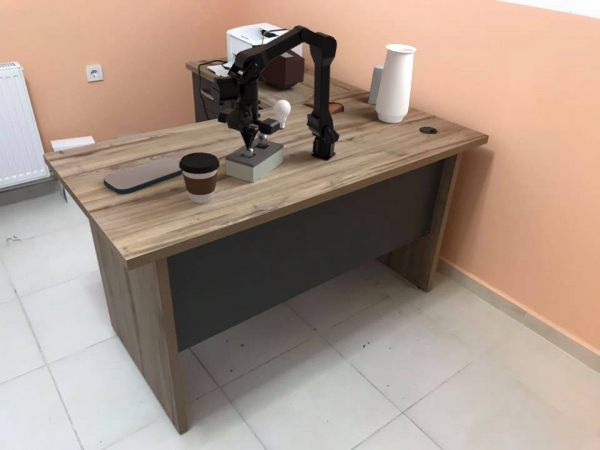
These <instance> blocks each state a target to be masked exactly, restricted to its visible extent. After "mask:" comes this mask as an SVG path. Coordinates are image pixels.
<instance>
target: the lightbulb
mask: <svg viewBox="0 0 600 450" xmlns="http://www.w3.org/2000/svg"><path fill="white" fill-rule="evenodd" d="M273 111H274V114H275V115H276V117H277V118H276V120H278V121H279V123H280V129H282V130H283V129H285V128H286V121H287V117H288V116H289V115H290V113H291V111H292V107H291V103H290V102H289V101H288V100H286V99H279V100H277V101H276V102H275V103H274V104H273Z"/></svg>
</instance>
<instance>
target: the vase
mask: <svg viewBox="0 0 600 450" xmlns="http://www.w3.org/2000/svg"><path fill="white" fill-rule="evenodd" d="M385 49H386V50H387V51H386V57H385V59H384V64H383V66H384V68H383V73H382V77H381V82H380V87H379V92H378V97H377V102H376V105H375V107H374V108H375V111H376V113H377V119H378V120H380V121H382V122H384V123H388V124H398V123H401V122H402V121H403V119H404V117H405V116H406V115H407V114H408V112H409V104H410V96H411V87H412V77H413V67H414V66H413V65H414V53H415V52H416V51H417V48H415V47H414V46H411V45H405V44H388V45H386V46H385Z"/></svg>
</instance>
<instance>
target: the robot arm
mask: <svg viewBox="0 0 600 450" xmlns="http://www.w3.org/2000/svg"><path fill="white" fill-rule="evenodd" d="M303 43H305V44H306V45H308V46H309V47H308V48H309V53H310V57H311V58H312V61H313V65H314V68H313V69H314V71H313V72H314V73H313V74H314V78H313V79H314V81H313V95H314V108H312V111H311V112H310V113H307V114H306V117H307V122H306V126H307V127H308V130H309V131H311V135H312V136H314V140H313V141H312V150H311V151H312V153H311V157H312V158H313V157H314V158H317V159H321V160H324V161H330V160H331V159H332V158H333V157H334V156H336V154H337V153H336V152H335V145H336V143H338V141H339V139H340V136H341V135H340V134H339V133H338V132H337V131H336V130H335V127H334V119H333V115H331V114H330V111H329V100H330V88H331V87H330V86H331V66H332V63H333V61H334V60H335V58H336V55H337V48H338V41H337V39H336V38H335V37H334V36H332V35H329V34H326V33H323V32H321V31H317V32H315V31H313V30H311V29H309V27H306V26H303V25H300V24H298V25H295V26H294V27H293V28H292V29H290V30H287V31H286V32H285V33H282V34H281V35H279V36H276V37H275V38H273V39H271V40H270V41H268V42H266V43H263V44H264V45H263V46H260V47H254V48H252V47H249V48H246V49H243V50H240V51H238V53H236V55H235V58H234V61H233V63H232V65H231V67H230V68H229V69H228V71H227V73H226V74H227V76H226V75H225V76H213V82H212V83H211V87H210V93H211V96H212V99H213V100H212V101H214V102H215V103H217V104H218V103H226V102H233V101H235V104H234V108H230V107H227V108H225V109H223V110H220V111H219V112H218V114H217V122H218V123H222V124H227V128H228V129H230V130H235V131H237V132H239V134H240V136H241V137H242V140H243V142H244V145H246V148H248V149H249V148H250V147H251V145H252V143H253V141H254V139H256V138H257V136H258V133H263V134H267V136H271V135H273V134H275V133H276V132H278V131H280V129H281V128H280V123H279V121H278V119H275V118H270V117H268V118H266V119H264V120H262V119H259V118H261V113H260V112H259V105H261V100H260V99H259V83H263V82H264V83H265V79H264V78H263V77H262V76H261V75H260V72H261V71H263V70H264V69H265V68H266V66H267V65H268V63H269V62H270V61H272V60H273V59H275V58H277V57H279V56H280V55H282V54H284V53H286V52H287V51H289V50H292V49H294V48H296V47H298V46H300V45H301V44H303ZM240 72H241V73H242V74H241V73H240Z"/></svg>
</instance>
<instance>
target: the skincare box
mask: <svg viewBox="0 0 600 450" xmlns="http://www.w3.org/2000/svg"><path fill="white" fill-rule="evenodd" d="M383 68H384V64H383V65H382V64H375V65H374V67H373V72H372V78H371V84H370V90H369V94H368V100H367V101H368V102H367V103H368V104H369V105H375V106H376V102H377V97H378V92H379V87H380V82H381V77H382V73H383Z"/></svg>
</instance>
